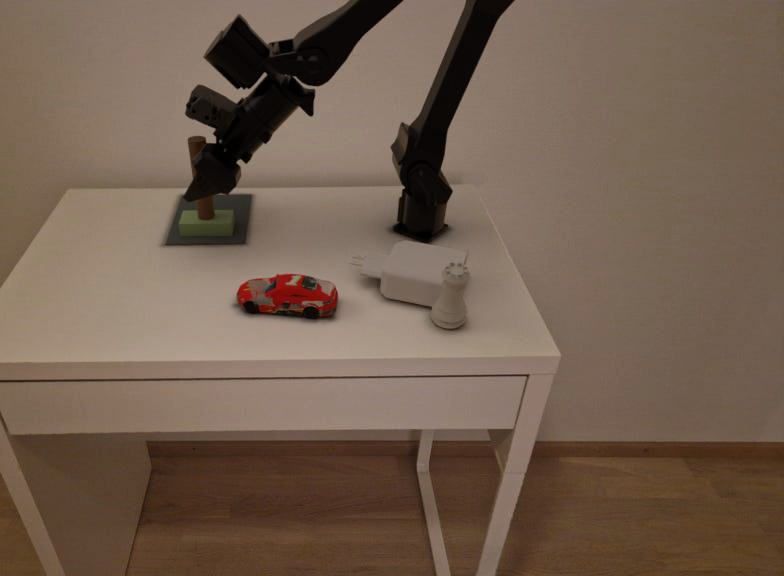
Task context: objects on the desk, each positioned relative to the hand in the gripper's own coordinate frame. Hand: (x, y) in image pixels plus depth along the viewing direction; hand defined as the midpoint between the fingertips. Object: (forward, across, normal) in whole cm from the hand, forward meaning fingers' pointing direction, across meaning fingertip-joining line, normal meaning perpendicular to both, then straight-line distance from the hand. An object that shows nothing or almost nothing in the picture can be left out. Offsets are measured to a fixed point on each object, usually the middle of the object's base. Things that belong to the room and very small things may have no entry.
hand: (194, 186), depth 89 cm
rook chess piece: (-21, +20, +31) cm, 43 cm away
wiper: (+4, 0, +6) cm, 7 cm away
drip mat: (+5, -4, +6) cm, 8 cm away
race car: (-6, +19, +17) cm, 26 cm away
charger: (-17, +12, +28) cm, 35 cm away
